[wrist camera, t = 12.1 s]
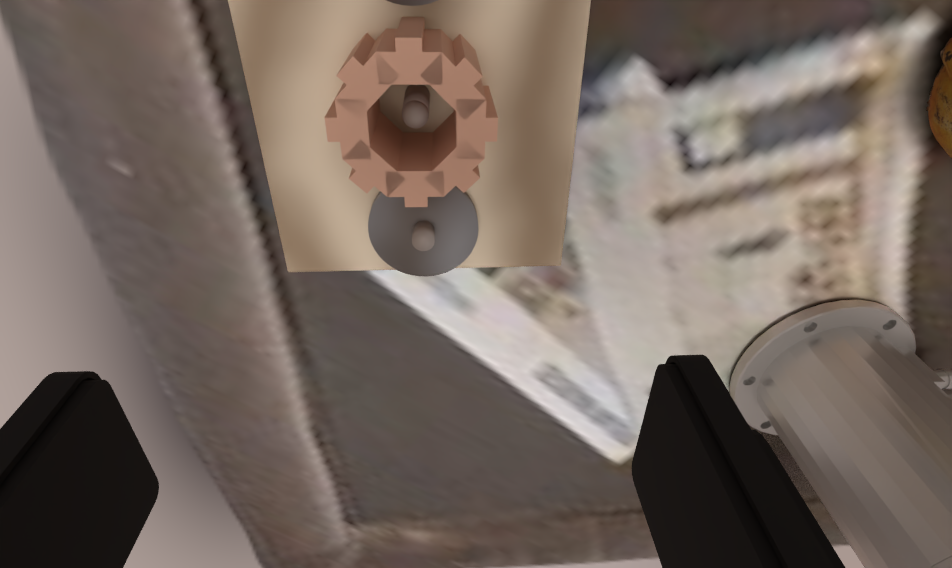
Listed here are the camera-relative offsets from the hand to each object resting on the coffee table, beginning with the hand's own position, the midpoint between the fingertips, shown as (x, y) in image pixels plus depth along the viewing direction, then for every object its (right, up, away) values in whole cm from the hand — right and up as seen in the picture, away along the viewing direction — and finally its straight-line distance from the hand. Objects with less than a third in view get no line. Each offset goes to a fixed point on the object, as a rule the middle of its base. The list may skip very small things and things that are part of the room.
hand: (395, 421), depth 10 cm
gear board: (-2, +12, +18) cm, 21 cm away
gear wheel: (-1, +12, +17) cm, 21 cm away
